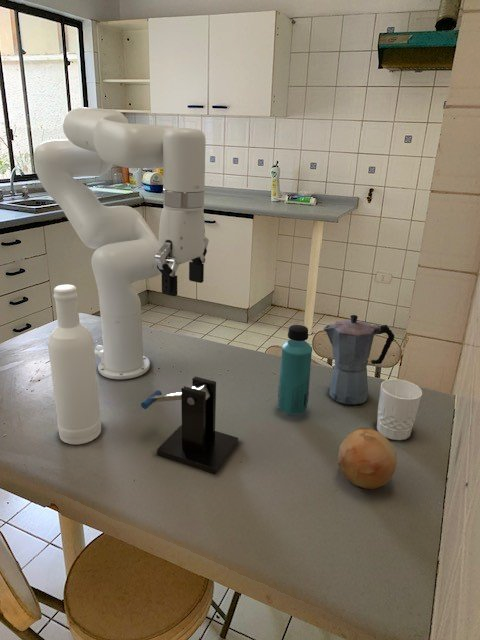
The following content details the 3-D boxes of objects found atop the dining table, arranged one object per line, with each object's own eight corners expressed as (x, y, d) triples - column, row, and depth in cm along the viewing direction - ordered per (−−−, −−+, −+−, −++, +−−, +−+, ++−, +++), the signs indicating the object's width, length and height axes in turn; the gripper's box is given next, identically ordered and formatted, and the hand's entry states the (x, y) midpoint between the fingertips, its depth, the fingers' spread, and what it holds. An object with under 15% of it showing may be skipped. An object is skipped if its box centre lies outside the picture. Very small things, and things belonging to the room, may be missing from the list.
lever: (143, 411, 87) (138, 400, 86) (158, 399, 91) (153, 388, 91) (200, 405, 81) (196, 393, 80) (213, 392, 85) (209, 380, 84)
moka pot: (314, 383, 112) (322, 306, 105) (377, 386, 112) (390, 309, 105) (319, 404, 104) (328, 322, 96) (388, 408, 103) (403, 325, 96)
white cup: (385, 415, 101) (392, 374, 97) (420, 431, 95) (429, 389, 92) (366, 429, 95) (373, 387, 92) (401, 447, 90) (410, 403, 86)
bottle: (50, 438, 89) (29, 290, 78) (77, 417, 96) (62, 278, 84) (84, 449, 86) (67, 297, 75) (110, 427, 93) (98, 284, 82)
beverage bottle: (305, 422, 97) (314, 335, 89) (274, 418, 98) (280, 331, 91) (307, 406, 103) (316, 323, 95) (278, 402, 104) (284, 319, 96)
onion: (404, 495, 78) (414, 446, 74) (351, 506, 75) (360, 455, 72) (373, 458, 87) (381, 413, 83) (325, 467, 84) (331, 420, 80)
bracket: (157, 454, 86) (154, 389, 80) (184, 426, 94) (183, 366, 89) (215, 474, 81) (216, 407, 76) (238, 442, 90) (240, 380, 85)
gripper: (191, 193, 94) (190, 274, 101) (138, 203, 80) (141, 296, 86) (223, 197, 91) (220, 280, 98) (175, 208, 77) (175, 304, 83)
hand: (183, 287), depth 92 cm, fingers open, 9 cm apart
